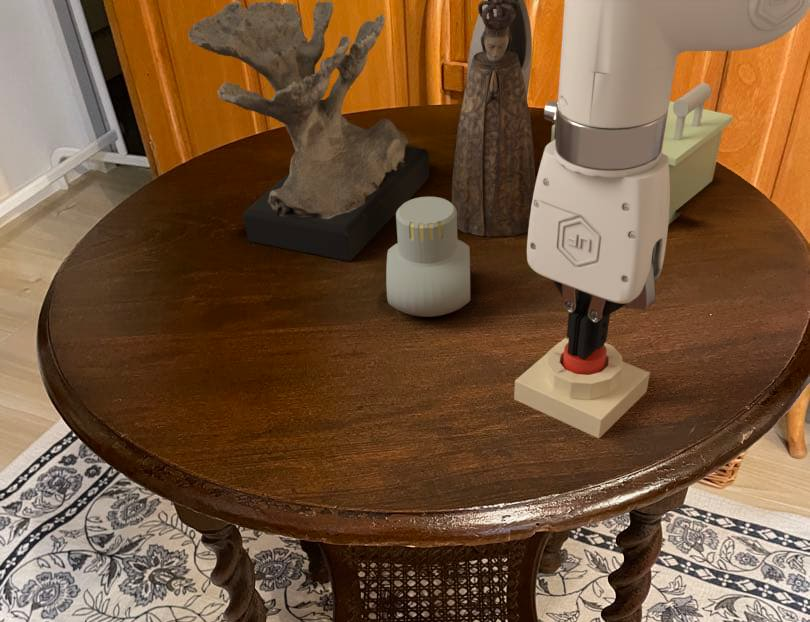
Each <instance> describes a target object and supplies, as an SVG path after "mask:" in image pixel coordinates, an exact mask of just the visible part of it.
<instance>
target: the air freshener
mask: <svg viewBox="0 0 810 622" xmlns="http://www.w3.org/2000/svg"><path fill="white" fill-rule="evenodd" d="M395 220H396V234H397V235H396V236H397V243H395V244H394V245H392V246H391V247H390V248H389V249H388V250H387V253H386V268H385V269H386V273H385V274H386V276H385V277H386V279H385V280H386V282H385V283H386V285H385V286H386V299H387V303H388V305H389V306H391V307H392V308H393V309H395V310H397V311H399V312H402V313H404V314H407V315H411V316H416V317H423V318H427V317H428V318H429V317H431V318H432V317H439V316H444V315H448V314H451V313H453V312H456V311H458V310H460V309H462V308H463V307H464V306H466V305H467V304H468V303H470V301H471V255H470V253H471V252H470V250H471V249H470V245H468V244H467V243H465V242H464V241H462V240H460V239H459V238H458V228H457V210H456V208H455V206H454V205H453V204H452V202H451V201H449V200H447V199H446V198H444V197H443V198H442V197H437V196H420V197H415V198H412V199H409V200H408V201H407V202H405V203H404V204H403V205H402V206H401V207H400V208H399V209H398V210H397V212H396V214H395Z"/></svg>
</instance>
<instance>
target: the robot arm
mask: <svg viewBox="0 0 810 622" xmlns="http://www.w3.org/2000/svg"><path fill="white" fill-rule="evenodd" d="M809 11H810V0H564V5H563V19H562V20H563V21H562V36H561V48H560V49H561V50H560V51H561V52H560V67H559V81H558V93H557V95H558V96H557V97H558V98H557V101H555V100H549V101H547V103H546V104H545V107H544V111H543V119H544V120H545V121H548V122H551V123H552V125H555V134H554V139H556V140H554V141H552V142H551V141H550V142H549V143H547V144H546V145H545V147H544V149H543V154H542V157H541V160H540V164H539V167H538V172H537V176H536V179H535V189H534V194H533V200H532V205H531V213H530V220H529V229H528V232H527V242H526V261H527V265H528V266H529V267H530V269H531V270H532V271H534V272H535V273H536V274H538V275H540V276H542V277H544V278H546V279H547V280H549V281H550V282H552V283H553V284H554V286H555V287H556V289H557V290H558V292H559V294H560V295H561V297H562V306H563V309H564V310H565V311H566V312H567V313H568V317H567V328H566V338H567V339H569V342H568V354H571V355H573V356H574V355H578V358H580V359H583V360H585V359H586V358H587V357H589V356H590V355H591V354H592V353H593V352H594V351H595V350H596V349H597V350H599V349H600V348H601V347H602V346H603V345H604V344H605V343H607V342H606V341H607V339H608V333H609V325H610V317H611V314H612V313H614V312H616V311H619V310H620V309H621V308H622V309H626V310H632V311H638V312H639V311H640V312H645V311H647V310H648V309H649V308H650V307H651V306H652V305H654V304H655V303H656V299H657V298H656V284H655V283H656V282H655V281H657V280H658V278H660V275H661V273H662V270H663V265H664V260H665V255H666V248H667V241H668V233H669V232H668V231H669V225H668V223H669V207H670V175H669V162H668V156H667V155H665V154H663V153H661V152H662V146H663V140H664V134H665V128H666V121H667V115H668V108H669V103H670V101H671V96H672V89H673V84H674V83H673V82H674V78H675V77H674V76H675V71H676V65H677V57H678V56H679V55H681V53H684V52H733V51H735V52H736V51H747V50H753V49H755V48H756V49H757V48H760V47H763V46H765V45H766V46H767V45H768V44H770V43H772V42H775V41H776V40H779V39H781V38H782V37H783V36H785V35H787V33H789V32H790V31H792V30H793V29H794V28H795V27H797V26H798V24H799V23H800V22H801V21H802V20H803V19H804V18H805V17H806V15H807V14H808V12H809Z"/></svg>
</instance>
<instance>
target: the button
mask: <svg viewBox="0 0 810 622" xmlns="http://www.w3.org/2000/svg"><path fill="white" fill-rule="evenodd" d="M606 352H607V350H606V347H605V345H603V346H602V347H601V348H600V349H599V350H597V349H596V350H595V351H594V352H593V353H592V354H591V355H590V356H589V357H587V358H586V359H585V360H583V359H580V358H578V355H574V356H573V355H571V354H568V343H567V344H566V346H565V348H564V358H563V367H564V368H565V369H566V370H568V371H570V372H573V373H575V374H582V375H591V374H595V373H599V372H602V371H603V370H604V367H605V359H606Z"/></svg>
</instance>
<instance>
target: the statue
mask: <svg viewBox="0 0 810 622" xmlns="http://www.w3.org/2000/svg"><path fill="white" fill-rule="evenodd" d="M508 4H511V5H514V9H513V7H511V6H510V5H508ZM483 5H488V6H487V7H486V8H485V9H484V10H482V6H483ZM517 7H518V4H517V2H516V1H514V0H488V1H486V0H481V2H479V3H478V5H477V11H478V12H477V13H478V15H479V14H480V16H481V17H482V20H483V22H484V24H485V30H484V32H483V34H482V36H481V44H482V49H483V52H480V53H477V54H475V55H474V57H473V59H472V64H471V68H470V71H469V76H468V80H467V79H466V80H467V84H466V83H465V88H464V93H463V99H462V102H461V108H460V113H459V119H458V125H457V132H456V141H455V150H454V162H453V168H452V180H451V182H452V183H451V203H452V204H453V205H454V206H455V208H456V210H457V230H459V231H461V232H462V233H466V234H468V233H469V234H471V235H474V236H475V235H476V236H480V237H484V236H486V237H491V238H492V237H493V238H496V237H515V236H519V235H522V234H526V233H528V229H529V220H530V213H531V205H532V200H533V194H534V189H535V184H536V172H535V171H536V170H535V169H536V168H535V151H534V140H533V131H532V122H531V121H532V120H531V116H530V115H531V114H530V106H529V104H528V95H526V91H525V84H524V79H523V74H522V70H521V66H520V62H519V58H518V55H517V53H515V52H512V51H509V48H510V45H511V42H512V37H511V34H510V33H509V26H510V25H511V23H512V22H513V20H514V18H515V14H516V12H517V9H518V8H517ZM493 9H496V12H497V17H495V16H494V12H493ZM507 10H508V11H509V12H510V14H511V15H510V17H509V18H508V19H505V16H506V11H507ZM488 13H489V15H488V16H489V19H487V14H488Z"/></svg>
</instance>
